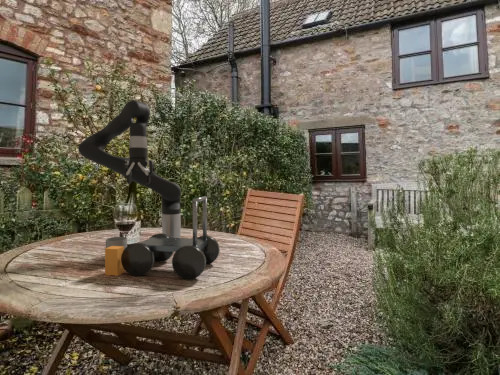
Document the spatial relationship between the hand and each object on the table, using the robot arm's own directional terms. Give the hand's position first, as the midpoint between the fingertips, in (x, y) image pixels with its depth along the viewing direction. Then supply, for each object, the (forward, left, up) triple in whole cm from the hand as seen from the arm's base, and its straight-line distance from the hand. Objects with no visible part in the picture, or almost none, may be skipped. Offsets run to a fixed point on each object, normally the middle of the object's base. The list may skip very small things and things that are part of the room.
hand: (138, 183), depth 143 cm
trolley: (+25, +6, -33) cm, 42 cm away
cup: (+2, -10, -33) cm, 35 cm away
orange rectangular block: (+18, -14, -33) cm, 40 cm away
